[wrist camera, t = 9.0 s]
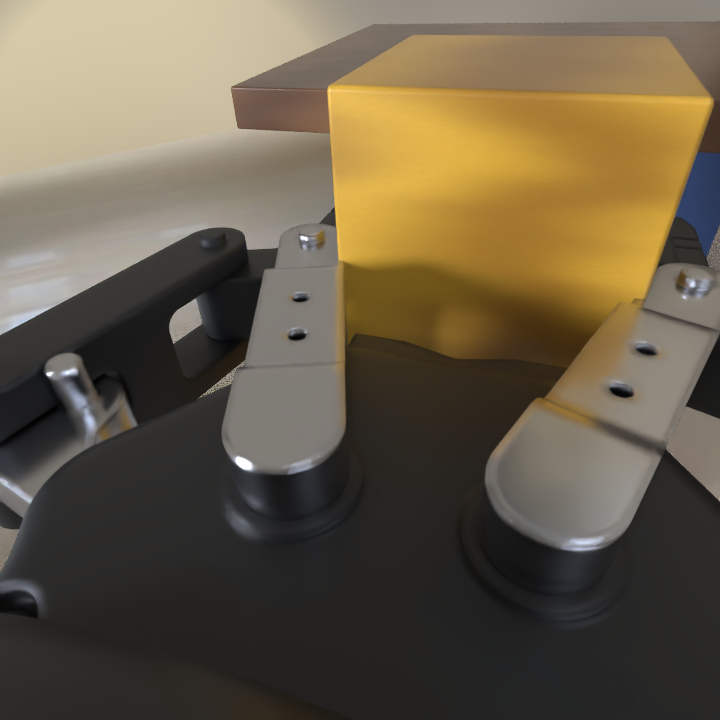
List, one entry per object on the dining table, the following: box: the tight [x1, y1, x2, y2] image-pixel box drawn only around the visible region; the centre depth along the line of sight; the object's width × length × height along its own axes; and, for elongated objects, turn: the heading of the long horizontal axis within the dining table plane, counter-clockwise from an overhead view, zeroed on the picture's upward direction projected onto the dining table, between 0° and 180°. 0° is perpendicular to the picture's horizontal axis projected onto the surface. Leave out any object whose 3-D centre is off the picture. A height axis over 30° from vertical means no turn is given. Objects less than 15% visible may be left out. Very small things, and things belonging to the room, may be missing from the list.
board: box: [231, 22, 720, 153], centre depth 24 cm, size 22×18×2 cm
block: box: [327, 35, 714, 368], centre depth 12 cm, size 5×5×10 cm
